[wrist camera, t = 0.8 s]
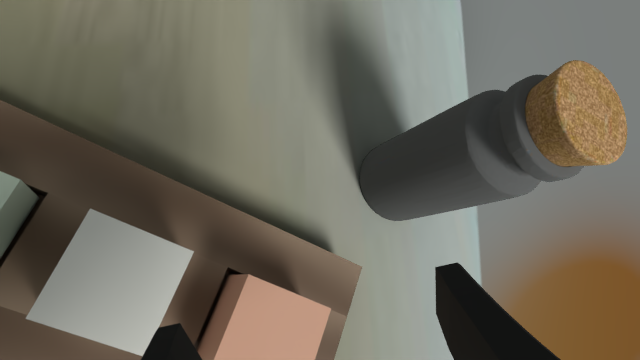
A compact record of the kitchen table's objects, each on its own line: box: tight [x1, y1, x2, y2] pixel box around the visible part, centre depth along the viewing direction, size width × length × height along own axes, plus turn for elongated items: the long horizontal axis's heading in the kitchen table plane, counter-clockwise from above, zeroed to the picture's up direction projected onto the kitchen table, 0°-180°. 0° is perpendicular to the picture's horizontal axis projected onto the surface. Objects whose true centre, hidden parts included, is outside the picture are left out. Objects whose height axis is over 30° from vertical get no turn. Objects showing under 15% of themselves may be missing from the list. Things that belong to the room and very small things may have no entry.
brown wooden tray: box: [0, 100, 362, 360], centre depth 21 cm, size 11×24×3 cm, turn 70°
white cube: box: [26, 209, 194, 356], centre depth 18 cm, size 4×4×4 cm
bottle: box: [360, 60, 627, 221], centre depth 24 cm, size 6×6×15 cm
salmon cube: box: [197, 274, 331, 360], centre depth 20 cm, size 4×4×4 cm
